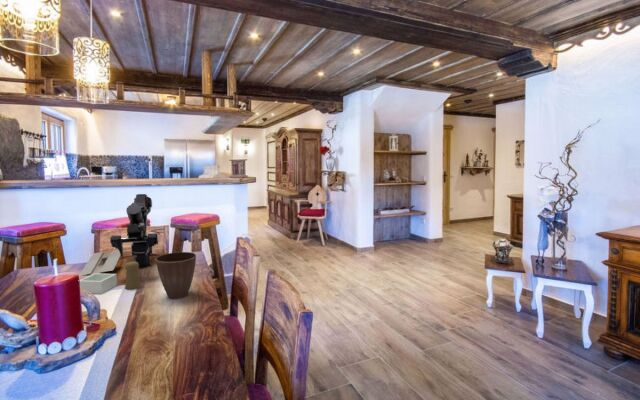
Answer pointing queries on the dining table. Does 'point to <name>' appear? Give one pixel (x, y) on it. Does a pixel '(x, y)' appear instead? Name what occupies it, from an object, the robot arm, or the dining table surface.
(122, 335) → the dining table surface
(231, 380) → the dining table surface
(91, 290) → the grey open box
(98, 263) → the grey slanted panel stand
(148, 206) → the robot arm
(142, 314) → the dining table surface
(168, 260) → the plant pot
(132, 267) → the cork
